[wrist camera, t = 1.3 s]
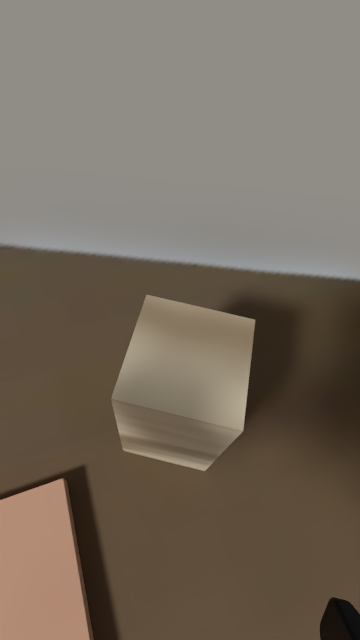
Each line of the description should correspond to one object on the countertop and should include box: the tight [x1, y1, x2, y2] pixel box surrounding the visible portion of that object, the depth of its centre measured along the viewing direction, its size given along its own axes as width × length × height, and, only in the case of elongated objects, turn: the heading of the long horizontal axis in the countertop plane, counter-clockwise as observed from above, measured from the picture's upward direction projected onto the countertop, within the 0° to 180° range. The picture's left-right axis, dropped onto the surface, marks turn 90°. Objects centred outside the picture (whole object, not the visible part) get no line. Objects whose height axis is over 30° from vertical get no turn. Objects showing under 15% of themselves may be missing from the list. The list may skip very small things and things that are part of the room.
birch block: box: [111, 295, 255, 471], centre depth 19 cm, size 6×6×10 cm
